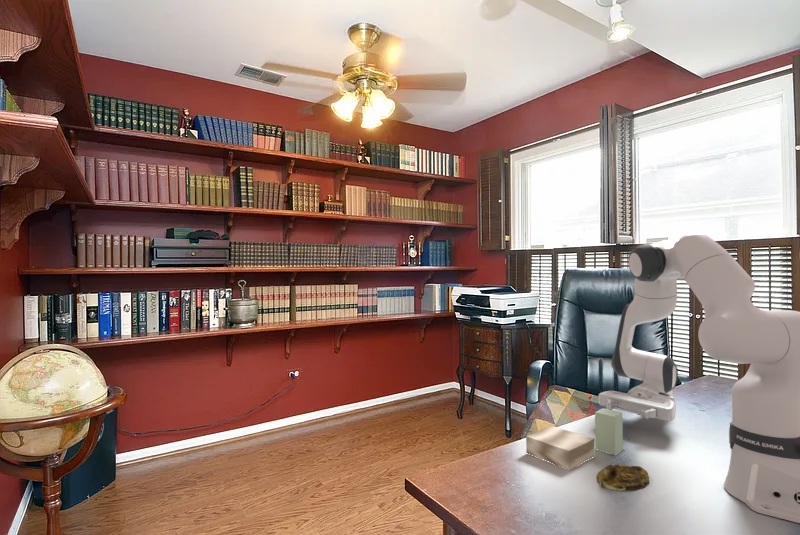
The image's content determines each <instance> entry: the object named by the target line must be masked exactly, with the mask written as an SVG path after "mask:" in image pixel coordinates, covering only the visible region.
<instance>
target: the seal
mask: <svg viewBox="0 0 800 535" xmlns="http://www.w3.org/2000/svg"><path fill="white" fill-rule="evenodd" d="M596 480H597V483H598V485H599V487H601V488H602V489H607V490H612V491H618V492H633V491H637V490H640V489H644V488H646V487H648V485H650V476H649V474H648V472H647V470H645V468H643V467H642V466H640V465H631V466H630V465H620V464H614V465H612V464H609V465H607V466H605V467H604V468H602V469H601V470H599V471H598V473H597V475H596Z"/></svg>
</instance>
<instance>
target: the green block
mask: <svg viewBox="0 0 800 535" xmlns="http://www.w3.org/2000/svg"><path fill="white" fill-rule="evenodd" d="M594 420H595V421H594V422H595V425H594V426H595V429H594V430H595V437H594V439H595V450H596V449H598V450H601V451H600V452H602V451H604V452H603V453H605V452H607V453H606V454H608V453H610V454H609V455H612V454H614V455H613V456H617V455H618V454H620V453H621V452H623V450H624V445H623V444H624V438H623V429H624V428H623V425H624V424H623V411H618V410H615V409H613V410H609V409H606V407H604V408H601V409H598V410H597V411H595V412H594ZM598 450H597V451H598ZM619 452H620V453H619ZM616 454H617V455H616Z"/></svg>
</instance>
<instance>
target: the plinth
mask: <svg viewBox="0 0 800 535" xmlns="http://www.w3.org/2000/svg"><path fill="white" fill-rule="evenodd" d="M525 439H526V440H525V444H526V446H525V447H526V449H525V450H526V453H528V454H530V455H533V456H536V457H538V458H541V459H544V460H546V461H549V462H551V463H553V464H555V465H557V466H556V467H558V466H560V467H559V468H561V467H563V468H565V469H564V470H566V469H568V470H570V471H571V469H572V468H574V467H576V466H577V467H579V466H581V465H582V464H581V463H583V462H584V461H586V460H588V459H590V458H592V457H594V456H596V454H595V451H596V450H595V438H592V437H589V436H586V435H583V434H580V433H577V432H573V431H570V430H567V429H563V428H560V427H557V426H553V425H550V426H548V427H546V428H544V429H541V430H538V431H536V432H534V433H531V434H528V435H526V436H525ZM526 453H525V454H526ZM530 455H529V456H530ZM594 458H595V457H594ZM592 459H593V458H592ZM590 460H591V459H590ZM553 464H552V465H553ZM580 464H581V465H580ZM583 464H584V463H583ZM555 465H554V466H555ZM578 465H579V466H578ZM577 467H576V468H577ZM563 468H562V469H563ZM574 469H575V468H574ZM568 470H567V471H568ZM572 470H573V469H572Z"/></svg>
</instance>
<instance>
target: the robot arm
mask: <svg viewBox="0 0 800 535" xmlns="http://www.w3.org/2000/svg"><path fill="white" fill-rule="evenodd" d="M627 260H628V267H629V268H628V270H629V271H630V273H631V275H632V276H633V277H634V278H635V280H634V296H633V300H631V302H630V303H627V304H626V305H624V306H625V307H624V308H623V310H622V312H621V316H620V320H619V326H618V331H617V334H616V335H617V336H616V341H615V347H614V350H613V352H612V358H611V362H610V363H611V364H610V367H611V368H612V369H613V371H614V372H615V373H616V375H617V376H618V377H622V378H628V379H634V380H638V381H642V383H640V384H638V385H636V386H634V387H632V388H631V389H629V390H628V391H627V393H625V392H622V391H616V390H607V391H606V390H605V391H602V392H600V393H598V398H597V399H598V404H599V406H601V407H604V408H605V409H609V410H617V411H618V410H619V411H621V412H627V413H631V414H636V415H637V416H640V418H643V419H649V418H652V419H657V420H662V421H665V422H673V421H674V420H675V419H676V411H677V406H676V397H675V396H674V395H673V394H674V392H673V391H674V389H675V388H676V385H677V383H678V376H679V370H678V367H677V365H676V363H675V362H674V359H673V358H671V357H670V356H669V355H665V354H662V353H661V354H660V353H656V352H651V351H650V352H649V351H646V350H642V349H638V348H635V347H633V345H632V344H633V340H634V335H635V329H636V326H638V325H642V324H646V323H654V322H658V321H662V320H664V319H666V318H668V317H669V316H671V315H672V314H673V313H674V311H675V310H676V306H677V298H678V285H677V280H680V279H683V280H684V281H685V283H686V284H687V285H688V287H689V288H690V289H691V291H692V292H693V294H694V295H695V297H696V298H697V299H698V301H699V302H700V304H701V306H702V308H703V311H704V319H703V320H702V322H701V323H700V325H699V326H698V336H697V337H698V341H699V344H700V346H701V348H702V350H703V351H704V352H705V353H706V354H707V356H708V357H710V358H712V359H714V360H716V361H722V362H725V363H726V362H727V363H732V364H737V365H740V364H741V365H743V364H744V365H745V364H750V365H749V368H748V370H747V371H746V373H745V375H744V376H743V377H742V378H740V379H739V380H737V381H736V382H735V383H734V384H733V386H732V388H731V422H730V423H729V427H728V443H729V447H730V449H731V450H730V460H729V464H728V470H727V473H726V474H727V475H726V477H725V480H724V482H723V487H724V489H725V490H726V491H727V493H729V494H730V495H732V496H733V497H735V498H736V499H738V500H740V501H741V502H743V503H745V504H746V505H747V507H749V509H751V510H752V511H754V512H755V513H759V514H762V515H766V516H771V517H773V518H778V519H782V520H786V521H790V522H794V523H796V524H800V311H798V310H791V309H789V310H788V309H780V310H778V309H776V310H775V309H773V310H769V309H768V310H763V309H760V308H759V307H756V306H755V304H753V302H752V301H751V297H752V296H753V294H754V292H755V289H756V284H755V281H754V279H753V278H752V277H751V276H750V275H749V273H747V271H746V270H745V269H744V268H743V267H742V266H741V265H740V264H739V262H738V261H736V259H735V258H734V257H733V255H731V254H730V253H729V251H727V250H726V249H725V247H722V246H721V245H720V244H719V242H717V241H716V240H714V239H712V238H711V237H709V236H708V235H706V234H705V233H701V232H693V233H687V234H685V235H683V236H682V237H680V238H679V239H678V238H676V239H667V240H666V239H665V240H660V241H656V242H652V243H644V244H641V245H638V246H635V247H634V248H632V250H631V251H630V253H629V255H628V259H627Z"/></svg>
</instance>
